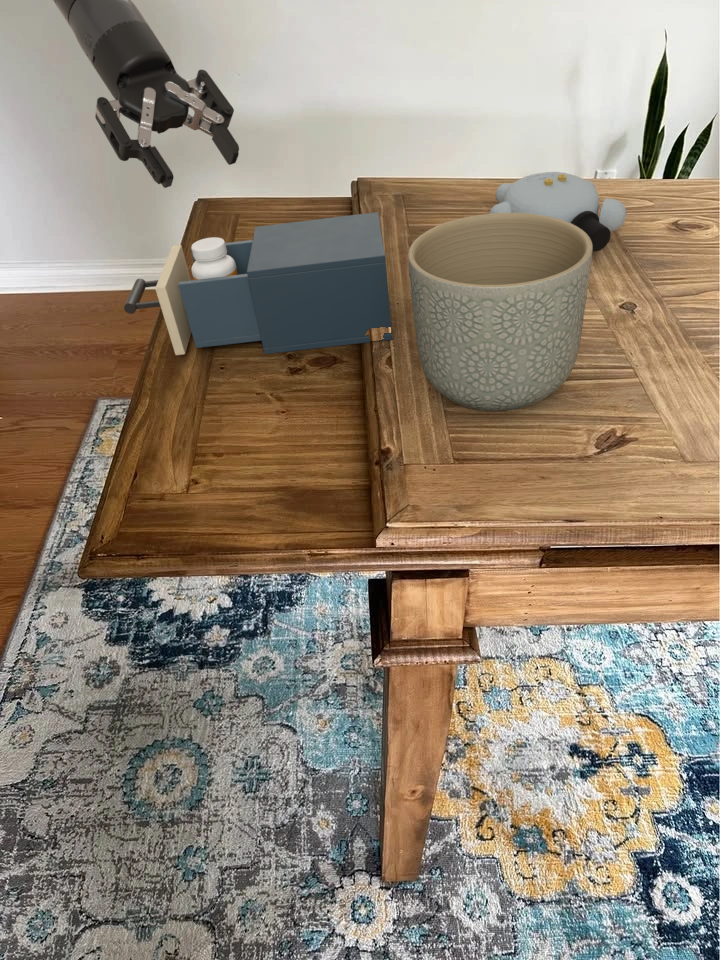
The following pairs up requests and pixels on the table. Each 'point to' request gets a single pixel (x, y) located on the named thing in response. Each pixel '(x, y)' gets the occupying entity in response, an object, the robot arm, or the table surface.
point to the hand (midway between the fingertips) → (202, 171)
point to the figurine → (563, 203)
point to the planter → (499, 307)
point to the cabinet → (319, 282)
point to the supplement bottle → (212, 259)
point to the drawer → (202, 302)
